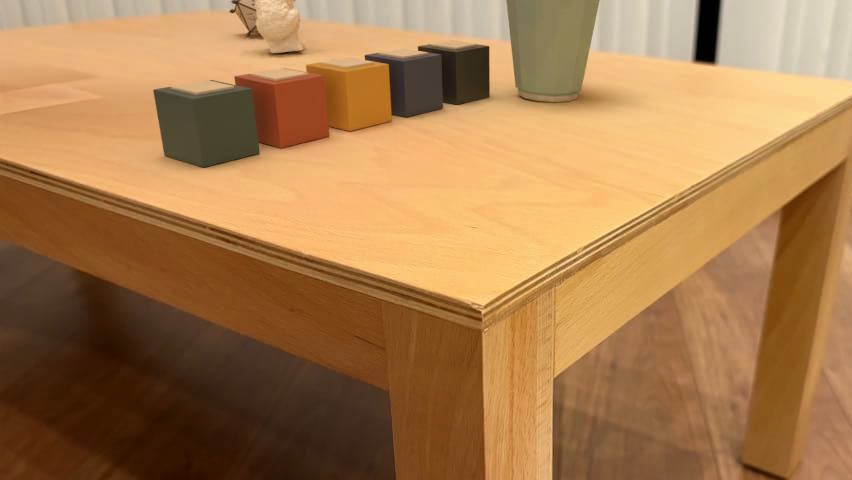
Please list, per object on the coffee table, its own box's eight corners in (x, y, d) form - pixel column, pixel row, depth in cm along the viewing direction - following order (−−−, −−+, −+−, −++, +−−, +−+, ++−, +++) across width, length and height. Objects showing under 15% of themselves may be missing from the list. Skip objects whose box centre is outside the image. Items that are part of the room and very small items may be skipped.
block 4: (457, 104, 83) (456, 49, 81) (419, 97, 86) (417, 44, 84) (489, 96, 87) (489, 43, 85) (452, 90, 89) (451, 38, 87)
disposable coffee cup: (522, 82, 94) (524, -67, 88) (616, 91, 91) (626, -63, 84) (482, 101, 85) (481, -64, 79) (585, 112, 82) (592, -59, 75)
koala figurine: (303, 45, 114) (294, -53, 108) (327, 52, 109) (319, -50, 104) (241, 51, 109) (229, -52, 103) (264, 58, 104) (251, -48, 99)
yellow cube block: (350, 131, 73) (345, 69, 71) (311, 122, 76) (305, 62, 73) (392, 121, 77) (388, 61, 74) (353, 112, 79) (349, 55, 77)
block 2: (281, 148, 68) (273, 81, 66) (241, 137, 70) (233, 73, 68) (329, 136, 71) (324, 72, 69) (290, 126, 74) (284, 65, 72)
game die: (275, 60, 124) (303, -1, 125) (281, 47, 116) (311, -19, 117) (214, 29, 121) (243, -34, 122) (216, 13, 113) (247, -54, 114)
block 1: (203, 167, 63) (192, 96, 60) (164, 155, 65) (152, 86, 63) (260, 153, 66) (251, 85, 64) (220, 142, 69) (211, 77, 67)
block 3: (406, 117, 78) (403, 59, 76) (367, 109, 81) (364, 52, 78) (443, 108, 82) (441, 52, 79) (405, 100, 84) (402, 46, 82)
